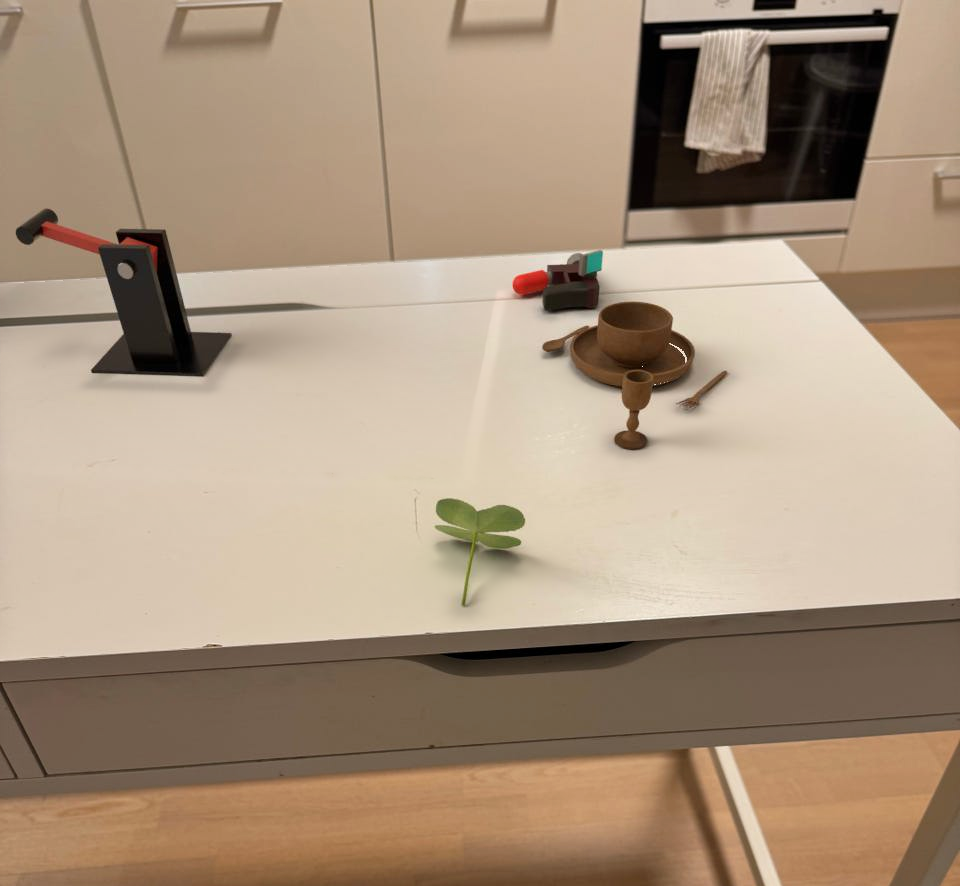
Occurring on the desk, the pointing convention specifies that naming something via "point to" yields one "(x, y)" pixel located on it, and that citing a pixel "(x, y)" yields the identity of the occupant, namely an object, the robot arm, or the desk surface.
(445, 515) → the green clover sprout
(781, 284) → the desk surface
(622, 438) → the place setting
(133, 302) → the bracket
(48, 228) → the lever
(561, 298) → the toy gun
